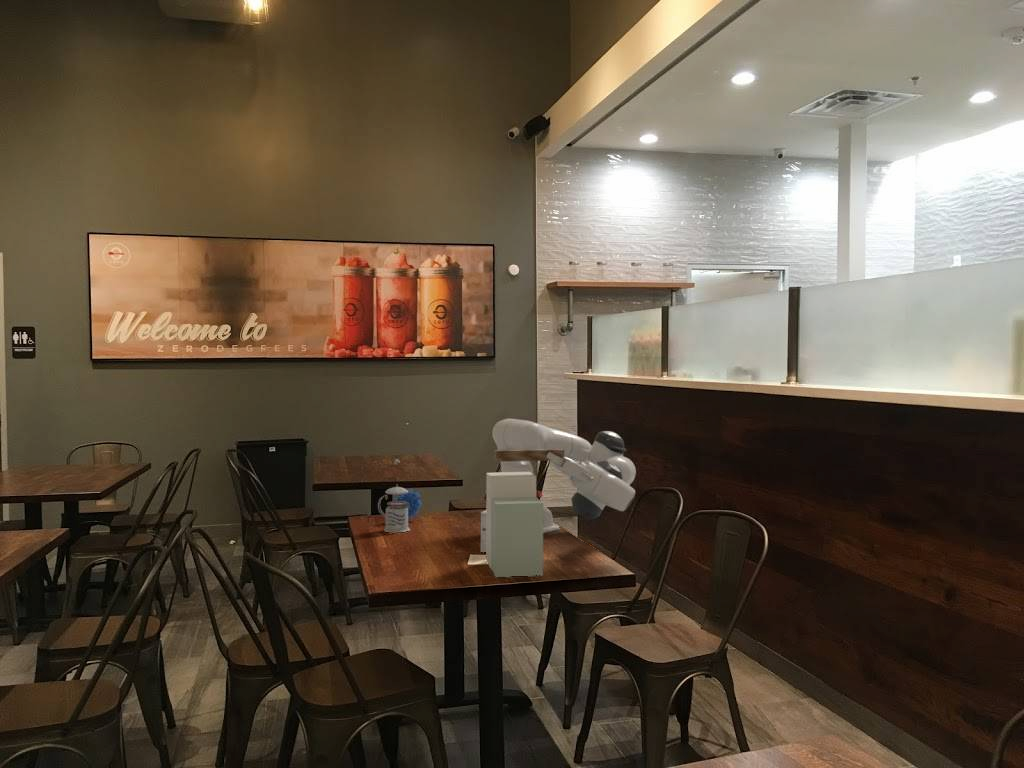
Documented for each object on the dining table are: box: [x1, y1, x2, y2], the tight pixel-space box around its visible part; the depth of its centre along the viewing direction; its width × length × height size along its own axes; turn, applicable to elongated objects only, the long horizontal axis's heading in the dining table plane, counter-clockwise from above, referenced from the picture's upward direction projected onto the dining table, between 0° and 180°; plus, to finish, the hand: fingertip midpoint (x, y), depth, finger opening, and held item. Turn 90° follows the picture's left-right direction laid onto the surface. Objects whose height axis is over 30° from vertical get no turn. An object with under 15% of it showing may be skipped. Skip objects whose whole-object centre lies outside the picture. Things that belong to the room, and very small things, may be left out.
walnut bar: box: [494, 449, 564, 462], centre depth 223 cm, size 20×3×3 cm, turn 100°
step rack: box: [485, 471, 544, 578], centre depth 218 cm, size 13×19×26 cm
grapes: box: [392, 488, 423, 522], centre depth 286 cm, size 12×7×12 cm, turn 108°
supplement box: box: [480, 509, 486, 553], centre depth 238 cm, size 7×7×13 cm
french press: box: [377, 459, 411, 533], centre depth 269 cm, size 10×12×25 cm
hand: (545, 453), depth 224 cm, fingers closed on walnut bar, 3 cm apart
